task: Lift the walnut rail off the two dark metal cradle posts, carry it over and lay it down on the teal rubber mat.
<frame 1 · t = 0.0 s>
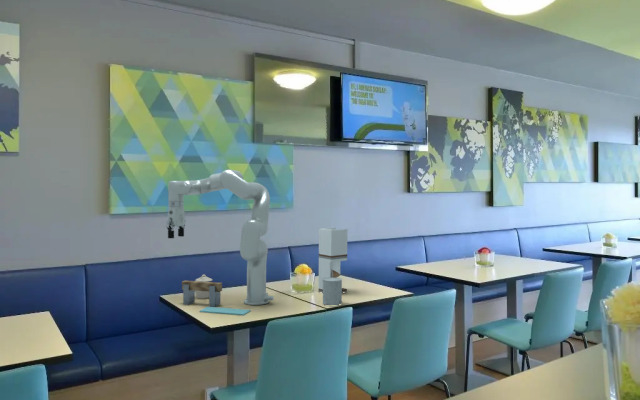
hand: (176, 237, 263), 31 cm above the table, tool pointing down, fingers open, 9 cm apart
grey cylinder: (332, 304, 250), on the table
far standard: (189, 303, 249), on the table
rail: (201, 290, 247), point 7 cm above the table, touching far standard, near standard
teacup with lid: (203, 296, 265), on the table
mat: (225, 311, 234), on the table
near standard: (214, 305, 245), on the table
grey tall blocky piece: (332, 292, 277), on the table
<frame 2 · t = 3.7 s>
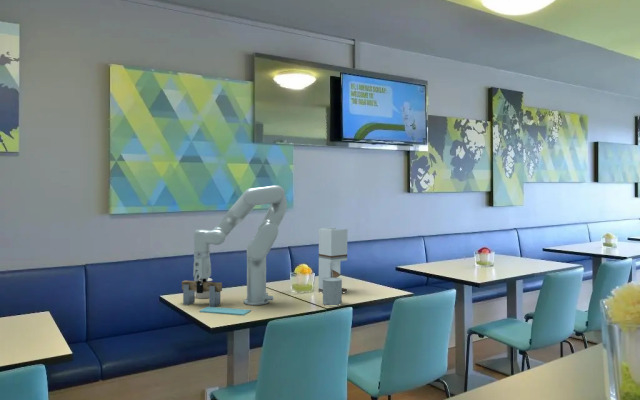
hand: (201, 291, 247), 6 cm above the table, tool pointing down, fingers closed on rail, 3 cm apart
rail: (201, 290, 247), point 7 cm above the table, touching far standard, gripper, near standard
everything else where it was.
when the fingers open (1 cm above the table, at t = 9.3 s): rail drops 1 cm, resting on mat.
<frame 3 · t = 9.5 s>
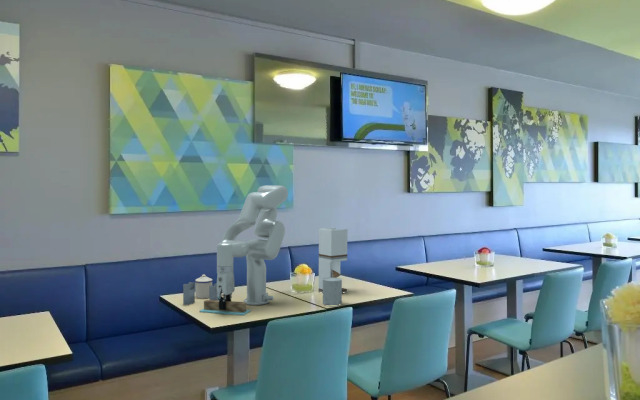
hand: (225, 307, 234), 2 cm above the table, tool pointing down, fingers open, 5 cm apart
rail: (225, 310, 234), point 1 cm above the table, touching mat
everything else where it was.
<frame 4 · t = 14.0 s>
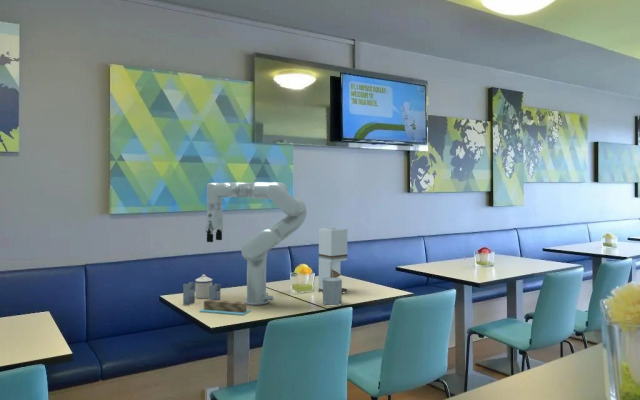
hand: (214, 240, 255), 30 cm above the table, tool pointing down, fingers open, 9 cm apart
nothing on the table moved.
at the end: rail inside the target area on the mat (0.1 cm from its centre), point 0.6 cm above the mat's base; rail point 0.6 cm above the table; the gripper is holding nothing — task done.
